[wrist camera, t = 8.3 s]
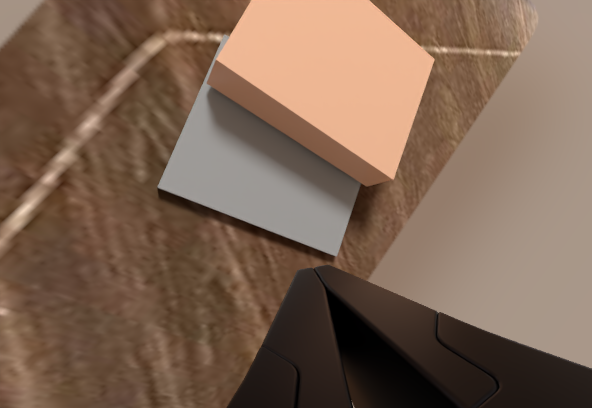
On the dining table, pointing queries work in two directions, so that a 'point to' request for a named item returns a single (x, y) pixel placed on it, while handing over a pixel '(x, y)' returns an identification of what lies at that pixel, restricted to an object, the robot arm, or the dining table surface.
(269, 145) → the mat
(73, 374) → the dining table surface
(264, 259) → the dining table surface
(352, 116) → the peach rectangular block
